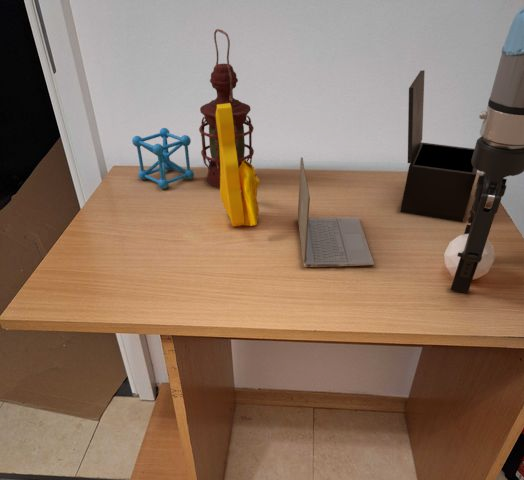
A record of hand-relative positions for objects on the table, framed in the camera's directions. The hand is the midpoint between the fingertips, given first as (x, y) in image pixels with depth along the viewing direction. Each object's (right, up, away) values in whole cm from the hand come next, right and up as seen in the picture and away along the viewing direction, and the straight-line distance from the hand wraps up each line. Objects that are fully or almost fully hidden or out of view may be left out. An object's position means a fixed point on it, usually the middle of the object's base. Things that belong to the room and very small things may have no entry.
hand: (461, 274), depth 83 cm
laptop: (-21, +7, +9) cm, 24 cm away
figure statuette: (-39, +13, +16) cm, 44 cm away
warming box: (+3, +19, +22) cm, 29 cm away
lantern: (-42, +27, +32) cm, 59 cm away
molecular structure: (-57, +28, +32) cm, 71 cm away
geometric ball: (0, 0, 0) cm, 0 cm away
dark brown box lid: (-3, +33, +12) cm, 36 cm away
